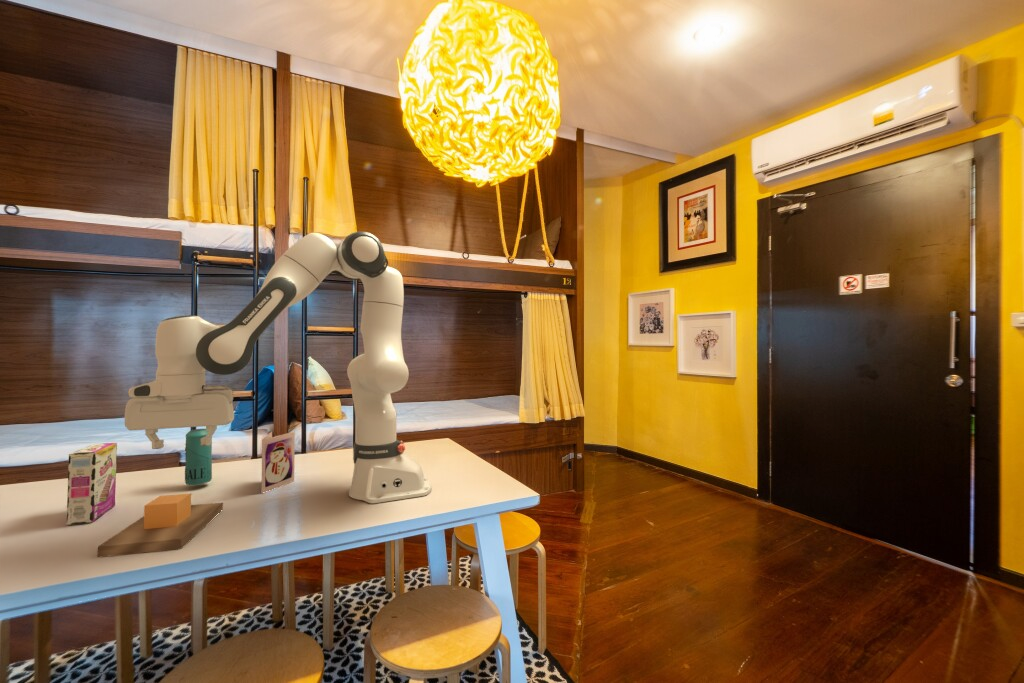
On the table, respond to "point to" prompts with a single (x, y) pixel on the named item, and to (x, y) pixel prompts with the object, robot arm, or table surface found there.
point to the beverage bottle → (197, 458)
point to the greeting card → (277, 460)
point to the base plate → (159, 533)
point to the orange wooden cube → (167, 511)
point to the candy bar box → (91, 483)
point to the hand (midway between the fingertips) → (182, 446)
